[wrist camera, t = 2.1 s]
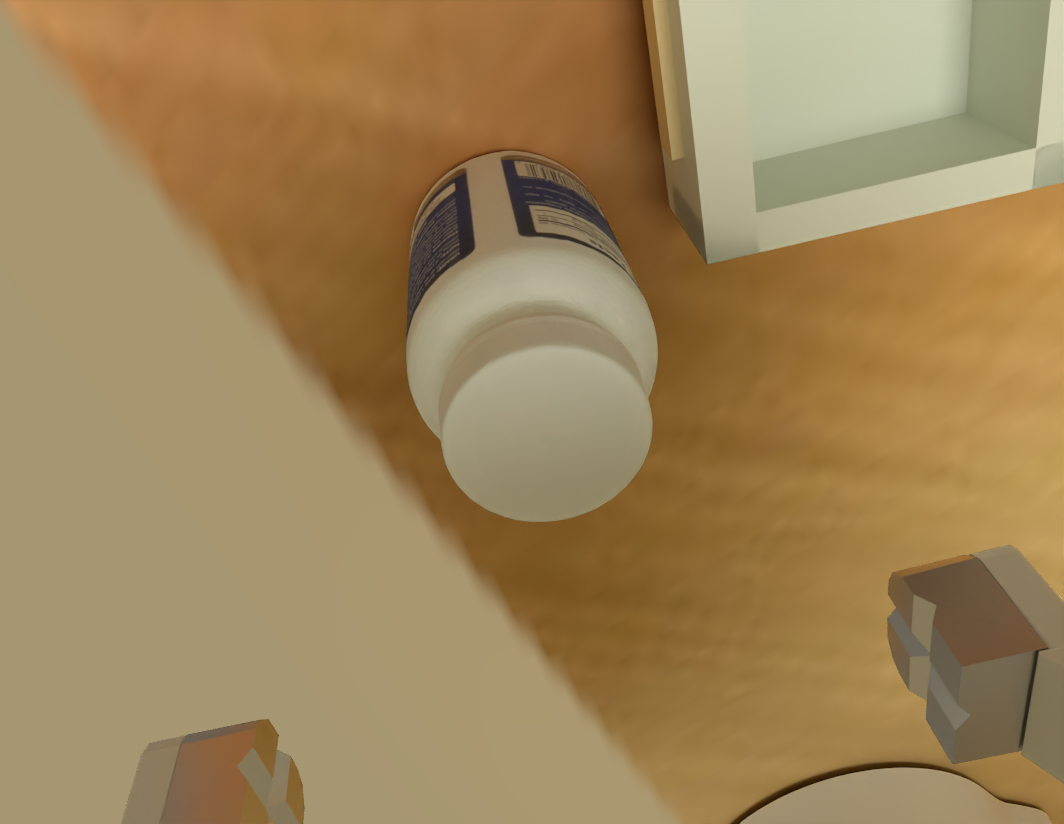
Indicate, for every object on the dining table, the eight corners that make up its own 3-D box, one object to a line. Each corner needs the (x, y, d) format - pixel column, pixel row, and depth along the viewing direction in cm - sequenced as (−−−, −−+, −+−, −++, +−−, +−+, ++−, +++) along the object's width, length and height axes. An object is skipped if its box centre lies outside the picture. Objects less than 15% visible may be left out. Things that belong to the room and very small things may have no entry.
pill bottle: (450, 354, 27) (460, 583, 18) (379, 185, 24) (354, 367, 16) (626, 296, 26) (717, 505, 18) (576, 117, 23) (656, 268, 15)
